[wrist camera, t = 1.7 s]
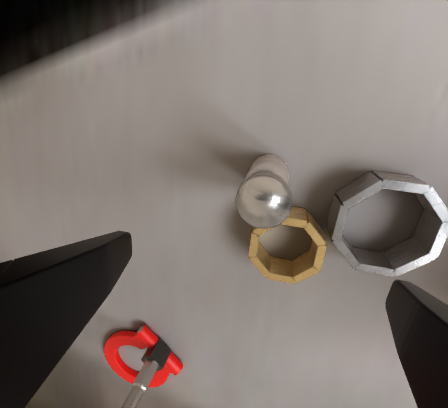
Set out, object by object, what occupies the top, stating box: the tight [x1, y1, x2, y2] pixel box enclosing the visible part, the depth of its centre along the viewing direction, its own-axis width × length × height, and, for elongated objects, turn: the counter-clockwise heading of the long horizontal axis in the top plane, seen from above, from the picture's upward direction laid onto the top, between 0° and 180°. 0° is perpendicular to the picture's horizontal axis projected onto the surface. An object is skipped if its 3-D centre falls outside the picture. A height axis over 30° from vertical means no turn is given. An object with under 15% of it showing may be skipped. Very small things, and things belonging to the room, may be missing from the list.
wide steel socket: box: [327, 171, 448, 277], centre depth 19 cm, size 7×7×2 cm
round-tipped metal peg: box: [235, 154, 292, 229], centre depth 18 cm, size 3×3×7 cm
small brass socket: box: [248, 207, 327, 284], centre depth 21 cm, size 6×6×2 cm
